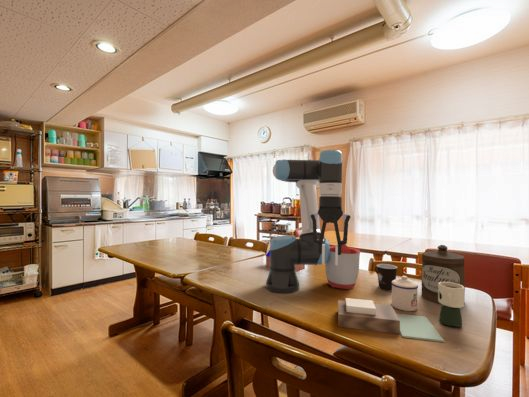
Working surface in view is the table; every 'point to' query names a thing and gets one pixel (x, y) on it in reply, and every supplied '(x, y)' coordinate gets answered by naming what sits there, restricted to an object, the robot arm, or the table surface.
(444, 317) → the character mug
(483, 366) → the table surface
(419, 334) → the mat
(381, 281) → the coffee mug
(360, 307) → the tile
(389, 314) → the block
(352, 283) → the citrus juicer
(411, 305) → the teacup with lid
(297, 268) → the house
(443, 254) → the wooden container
